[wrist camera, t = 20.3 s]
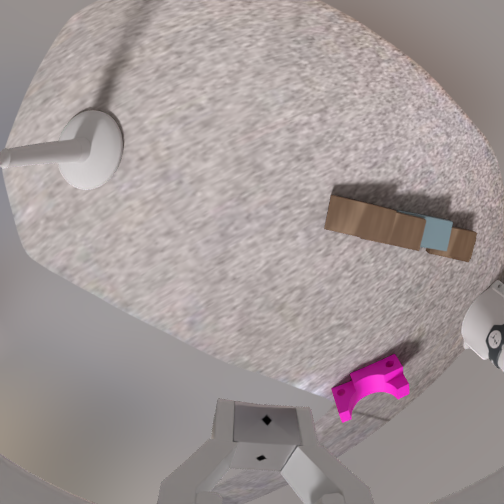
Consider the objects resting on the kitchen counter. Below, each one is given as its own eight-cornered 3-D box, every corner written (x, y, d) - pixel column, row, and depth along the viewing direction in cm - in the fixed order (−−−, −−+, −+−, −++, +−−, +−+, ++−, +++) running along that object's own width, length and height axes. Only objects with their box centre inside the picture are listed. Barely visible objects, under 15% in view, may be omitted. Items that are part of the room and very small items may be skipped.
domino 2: (365, 204, 41) (423, 218, 39) (359, 235, 43) (416, 247, 41) (366, 206, 40) (426, 220, 38) (360, 238, 42) (418, 250, 39)
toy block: (394, 353, 52) (408, 376, 45) (396, 371, 54) (409, 393, 47) (328, 381, 54) (336, 407, 47) (334, 397, 56) (342, 422, 49)
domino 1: (330, 194, 41) (394, 209, 39) (324, 226, 42) (386, 241, 40) (331, 195, 39) (396, 211, 37) (324, 229, 41) (388, 244, 39)
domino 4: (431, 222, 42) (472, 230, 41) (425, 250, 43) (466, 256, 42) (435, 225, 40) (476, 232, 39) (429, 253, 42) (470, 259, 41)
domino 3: (393, 242, 42) (446, 251, 39) (399, 211, 40) (452, 222, 38) (392, 239, 43) (443, 248, 41) (397, 209, 42) (449, 220, 39)
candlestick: (115, 98, 35) (-43, 62, 7) (130, 176, 39) (-29, 231, 11) (53, 128, 36) (-95, 140, 8) (68, 198, 40) (-76, 264, 12)
